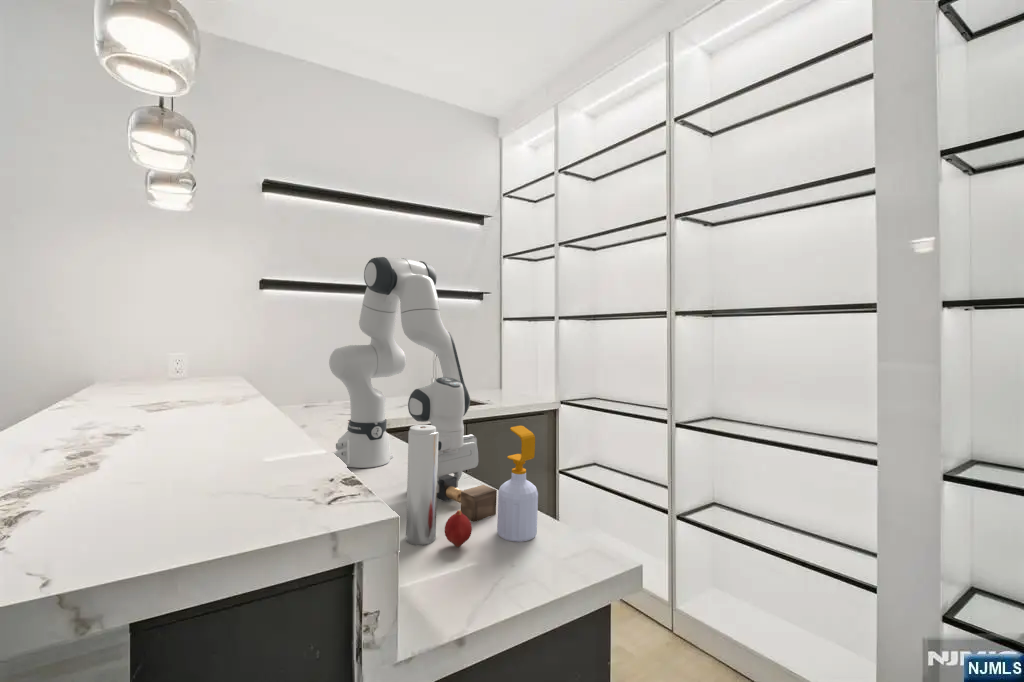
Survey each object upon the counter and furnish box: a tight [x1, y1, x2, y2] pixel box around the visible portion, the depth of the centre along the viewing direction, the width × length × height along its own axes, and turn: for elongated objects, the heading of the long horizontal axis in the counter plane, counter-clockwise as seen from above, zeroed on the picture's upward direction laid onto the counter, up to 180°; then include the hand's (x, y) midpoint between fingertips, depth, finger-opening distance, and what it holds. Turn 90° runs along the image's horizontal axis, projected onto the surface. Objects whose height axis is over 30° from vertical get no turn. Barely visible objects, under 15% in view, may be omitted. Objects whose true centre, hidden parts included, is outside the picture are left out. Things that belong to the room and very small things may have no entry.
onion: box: [444, 509, 473, 548], centre depth 103 cm, size 6×6×8 cm
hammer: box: [437, 474, 463, 504], centre depth 130 cm, size 17×4×6 cm, turn 45°
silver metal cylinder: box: [405, 424, 439, 546], centre depth 105 cm, size 6×6×25 cm
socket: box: [460, 484, 498, 523], centre depth 119 cm, size 5×7×6 cm
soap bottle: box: [496, 425, 539, 543], centre depth 109 cm, size 9×9×25 cm
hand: (445, 489), depth 129 cm, fingers closed on hammer, 4 cm apart
